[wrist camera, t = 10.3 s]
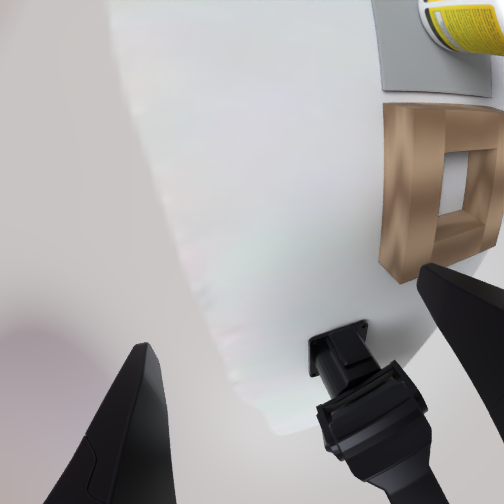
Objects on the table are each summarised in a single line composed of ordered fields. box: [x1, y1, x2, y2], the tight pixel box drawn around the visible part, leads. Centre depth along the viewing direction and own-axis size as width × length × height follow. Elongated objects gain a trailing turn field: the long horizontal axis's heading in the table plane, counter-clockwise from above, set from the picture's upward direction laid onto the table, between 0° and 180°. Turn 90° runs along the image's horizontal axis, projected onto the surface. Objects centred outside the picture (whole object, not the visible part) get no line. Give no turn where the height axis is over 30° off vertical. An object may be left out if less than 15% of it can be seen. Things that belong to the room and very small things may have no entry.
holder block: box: [379, 103, 504, 284], centre depth 22 cm, size 14×14×4 cm
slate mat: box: [371, 0, 492, 98], centre depth 16 cm, size 14×14×1 cm
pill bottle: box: [418, 0, 504, 56], centre depth 11 cm, size 6×6×11 cm
